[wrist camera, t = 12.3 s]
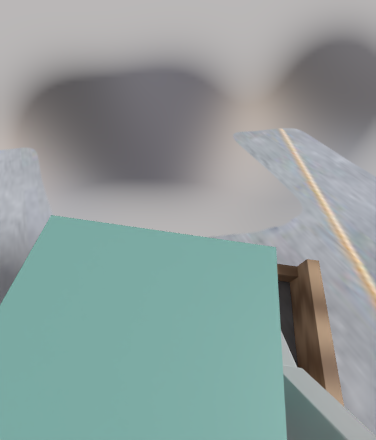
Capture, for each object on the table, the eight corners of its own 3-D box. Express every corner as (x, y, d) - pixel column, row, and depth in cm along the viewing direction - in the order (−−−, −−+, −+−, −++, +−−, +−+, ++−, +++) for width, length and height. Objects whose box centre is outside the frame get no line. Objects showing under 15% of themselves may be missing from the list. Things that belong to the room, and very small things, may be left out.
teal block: (215, 315, 14) (275, 247, 5) (208, 393, 12) (293, 562, 2) (140, 303, 14) (51, 214, 5) (121, 376, 12) (-93, 468, 3)
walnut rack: (326, 508, 22) (370, 559, 16) (136, 468, 23) (122, 503, 18) (298, 274, 34) (318, 260, 29) (175, 257, 35) (173, 241, 30)
